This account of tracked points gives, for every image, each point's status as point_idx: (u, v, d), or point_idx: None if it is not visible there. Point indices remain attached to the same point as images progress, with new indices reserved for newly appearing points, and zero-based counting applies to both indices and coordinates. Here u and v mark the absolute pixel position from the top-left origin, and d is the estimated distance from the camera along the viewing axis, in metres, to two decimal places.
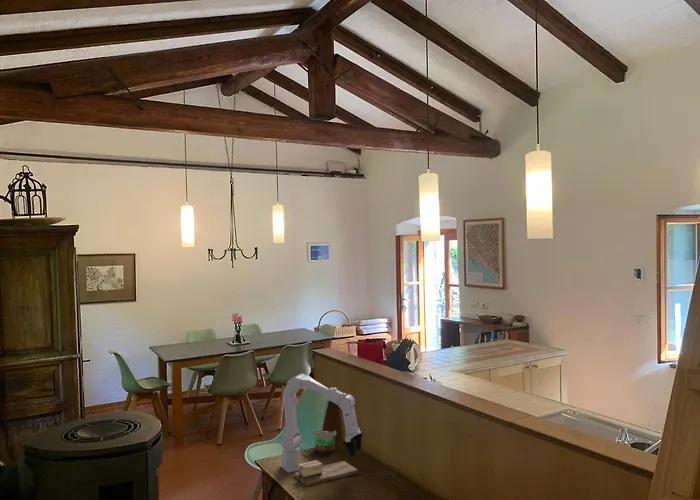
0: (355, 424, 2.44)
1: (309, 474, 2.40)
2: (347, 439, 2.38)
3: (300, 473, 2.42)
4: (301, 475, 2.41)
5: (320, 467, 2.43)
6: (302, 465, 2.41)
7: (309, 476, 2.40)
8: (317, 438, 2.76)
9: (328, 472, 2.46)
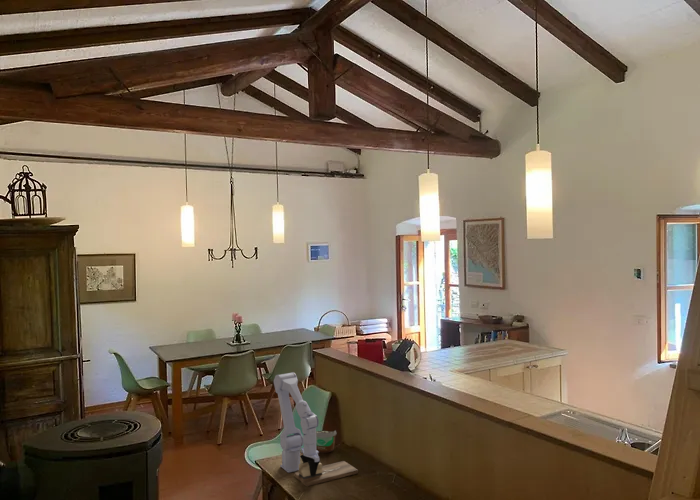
0: None
1: (309, 474, 2.40)
2: (317, 459, 2.37)
3: (300, 473, 2.42)
4: (301, 475, 2.41)
5: (320, 467, 2.43)
6: (302, 465, 2.41)
7: (309, 476, 2.40)
8: (317, 438, 2.76)
9: (328, 472, 2.46)
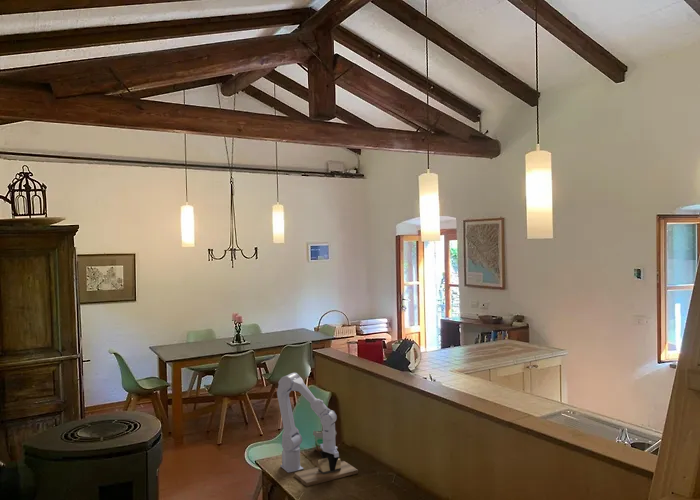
0: None
1: (328, 469, 2.45)
2: (337, 454, 2.42)
3: (319, 468, 2.47)
4: (320, 470, 2.45)
5: (339, 463, 2.48)
6: (321, 460, 2.46)
7: (328, 471, 2.45)
8: (317, 438, 2.76)
9: None
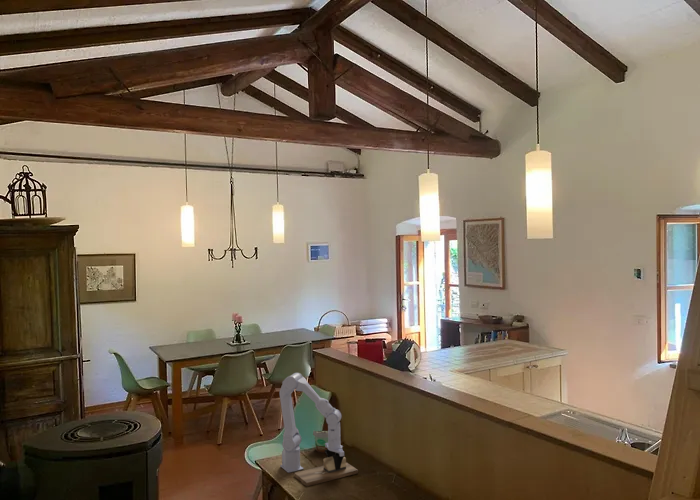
0: None
1: (334, 468, 2.46)
2: (342, 453, 2.43)
3: (324, 467, 2.48)
4: (326, 469, 2.47)
5: (344, 461, 2.49)
6: (327, 459, 2.48)
7: (334, 470, 2.46)
8: (317, 438, 2.76)
9: None
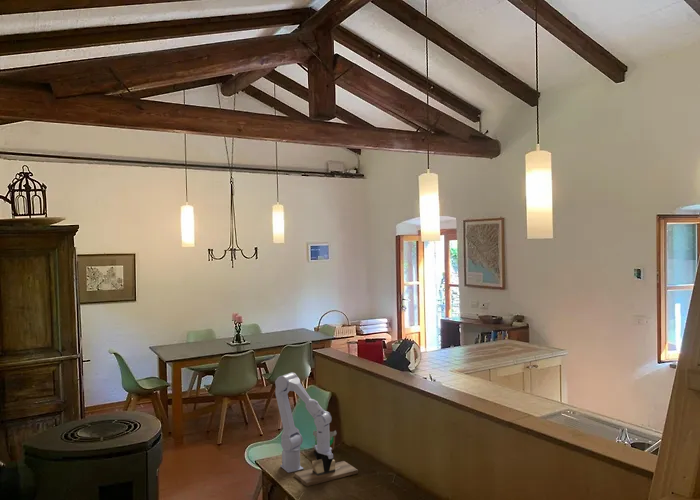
0: (329, 441, 2.47)
1: (323, 471, 2.43)
2: (331, 456, 2.40)
3: (313, 470, 2.45)
4: (315, 472, 2.44)
5: (333, 464, 2.46)
6: (316, 462, 2.45)
7: (323, 473, 2.43)
8: None
9: None
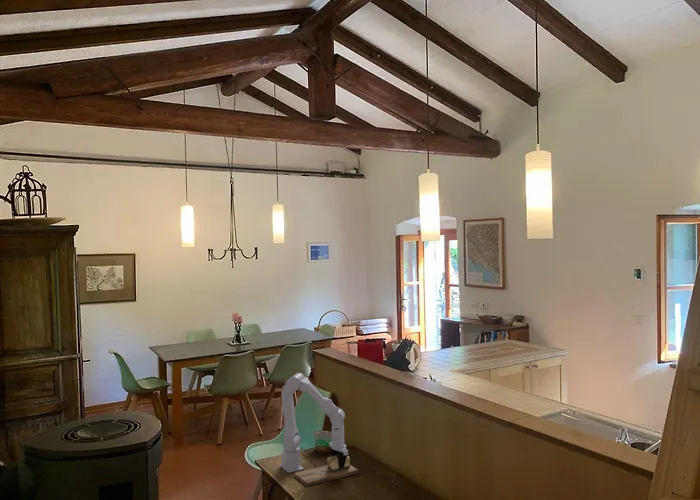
0: None
1: (338, 467, 2.47)
2: (346, 452, 2.44)
3: (328, 466, 2.49)
4: (330, 468, 2.48)
5: (348, 460, 2.50)
6: (331, 458, 2.49)
7: (338, 469, 2.47)
8: (317, 438, 2.76)
9: (328, 472, 2.46)
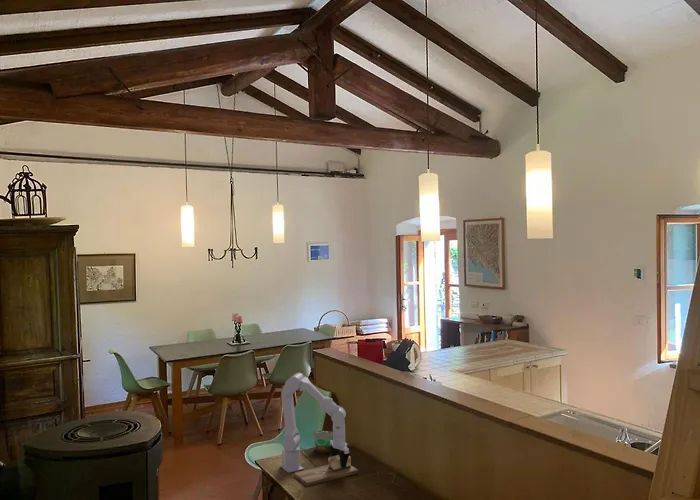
0: None
1: (339, 467, 2.48)
2: (347, 451, 2.45)
3: (329, 466, 2.49)
4: (331, 468, 2.48)
5: (349, 460, 2.50)
6: (332, 458, 2.49)
7: (339, 469, 2.48)
8: (317, 438, 2.76)
9: (328, 472, 2.46)
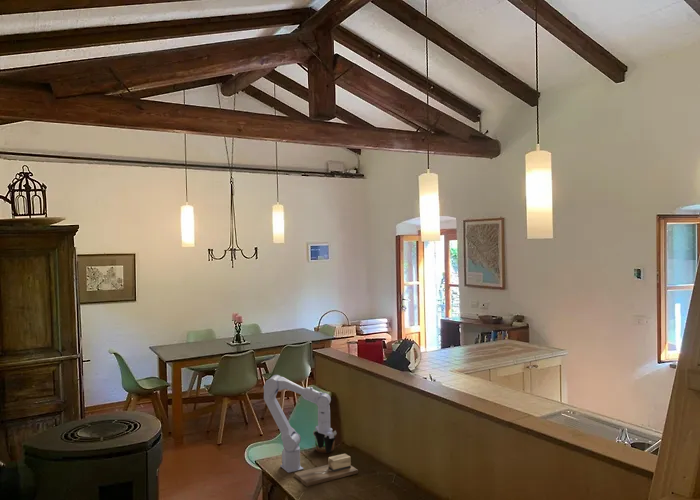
0: None
1: (339, 467, 2.48)
2: (331, 435, 2.46)
3: (329, 466, 2.49)
4: (331, 468, 2.48)
5: (349, 460, 2.50)
6: (332, 458, 2.49)
7: (339, 469, 2.48)
8: None
9: (328, 472, 2.46)
